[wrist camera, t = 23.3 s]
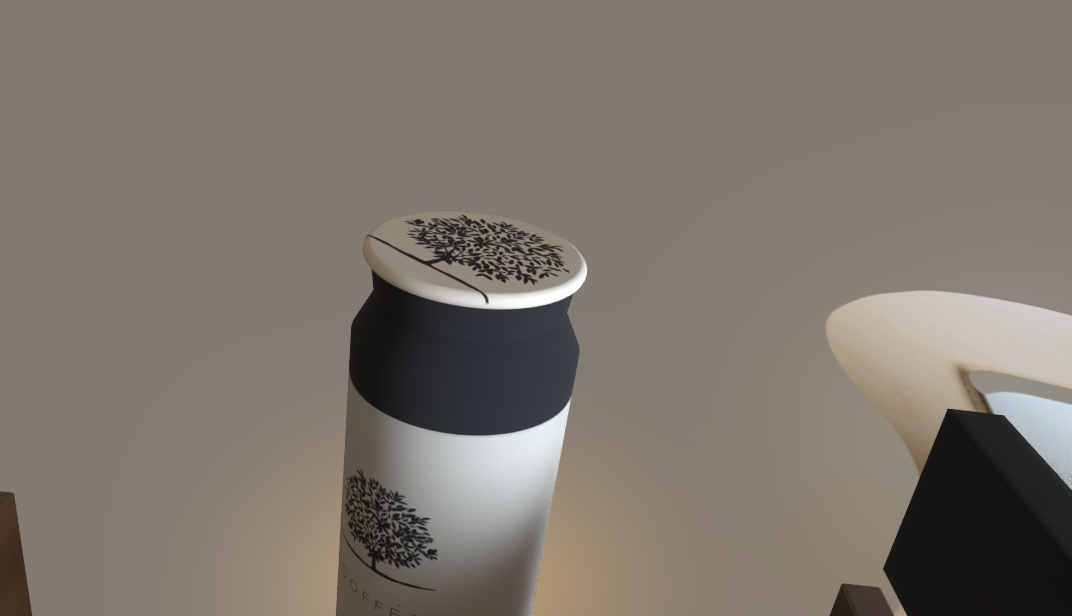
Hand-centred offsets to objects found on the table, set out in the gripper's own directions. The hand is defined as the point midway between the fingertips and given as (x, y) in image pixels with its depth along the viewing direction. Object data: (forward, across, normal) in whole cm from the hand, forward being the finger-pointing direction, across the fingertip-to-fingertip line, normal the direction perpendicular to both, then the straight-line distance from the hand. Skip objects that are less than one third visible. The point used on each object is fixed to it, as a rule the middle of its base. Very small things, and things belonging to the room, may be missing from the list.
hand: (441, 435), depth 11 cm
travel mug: (+17, 0, -22) cm, 28 cm away
